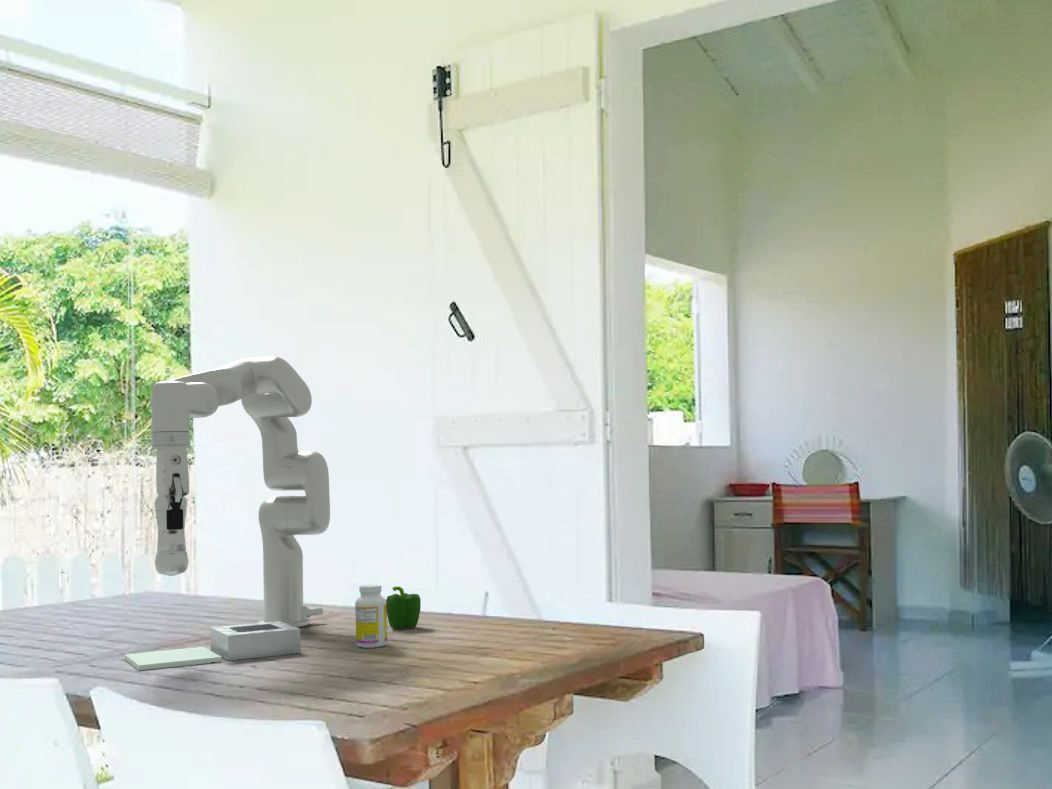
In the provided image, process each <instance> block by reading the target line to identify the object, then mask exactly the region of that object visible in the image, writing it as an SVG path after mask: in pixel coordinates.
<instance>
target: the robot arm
mask: <svg viewBox="0 0 1052 789" xmlns="http://www.w3.org/2000/svg"><path fill="white" fill-rule="evenodd" d="M312 399H313V398H312V393H311V390H310V388H309V386H308V384H307V382H305V380H303V378H302V377H301V375H300V374H299V373H298V372H297V371H296V369H294V367H293V366H292V365H291V364H290V363H289V362H288V361H286V360H285V359H283V358H281V357H280V356H261V357H259V356H258V357H257V356H256V357H247V358H246V357H245V358H241V359H238V360H235V361H232V362H230V363H227V364H225V365H222V366H220V367H217V368H213V369H209V370H205V371H201V372H198V373H197V372H196V373H193V374H188V375H184V376H180V377H177V378H172V379H169V380H166V381H165V380H163V381H157V382H155V383H153V385H152V386H151V393H150V398H149V403H150V404H149V405H150V409H151V410H150V412H151V449H154V450H156V466H155V467H156V468H155V470H156V471H155V475H156V477H155V479H156V482H155V483H156V493H157V496H158V495H159V493H160V492H161V493H162V495H164V496H167V502H168V510H166V517H167V530H181V529H183V502H182V493H183V496H185V497H186V496H189V494H190V479H189V478H190V477H189V476H190V474H189V461H188V459H189V458H188V450H187V449H190V447H191V444H190V443H191V442H190V439H191V438H190V437H191V436H190V435H191V431H190V430H191V428H190V427H191V426H190V423H191V422H190V419H196V418H197V419H200V418H207V417H209V416H212V415H213V414H215V413H216V412H217V410H218V408H219V407H221V406H227V405H232V404H233V403H236V402H238V401H239V400H241V401H240V402H241V404H242V407H243V410H244V411H245V412H246V414H247V415H248V416H249V417H251V420H253V422H254V423H255V424H256V427H258V429H259V433H260V436H261V446H262V447H261V448H262V471H263V472H262V473H263V480H264V485H265V486H266V487H267V488H268V489H270V490H272V491H278V492H279V491H283V492H284V491H285V492H286V491H288V492H289V491H292V492H293V491H304V493H305V495H282V496H281V495H279V496H272V497H269V498H267V499H265V500H264V501H263V502H262V503H260V506H259V509H258V523H259V527H260V532H261V540H262V552H263V553H262V556H263V558H262V559H263V560H262V562H263V570H262V571H263V620H259V621H257V623H264V622H275V621H281V622H283V623H286V624H289V625H291V626H294V627H297V628H300V627H306V626H309V625H310V624H311V619H310V618H311V616H315V617H316V616H323V615H324V608H323V607H322V606H321V607H320V606H319V607H309V606H307V605H306V604H305V605H304V567H303V566H304V563H303V561H304V556H303V550H302V548H301V545H300V543H299V542H298V540H297V538H295V536H305V535H306V536H307V535H308V536H311V535H312V536H313V535H314V536H315V535H321V534H324V533H325V532H326V530H328V528H329V524H330V520H331V498H330V474H329V467H328V463H327V461H326V459H325V457H324V455H322V454H321V453H320V452H317V451H312V450H311V451H310V450H309V451H308V450H307V451H299V448H298V435H297V434H298V433H297V430H296V427H295V426H294V424H293V423H292V421H291V420H290V418H299V417H302V416H305V415H306V414H307V413H308V412H309V411H310V409H311V406H312V402H313V400H312ZM172 483H173V484H172ZM169 489H170V490H169ZM170 493H174V494H170ZM171 499H172V502H171Z"/></svg>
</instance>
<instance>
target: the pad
mask: <svg viewBox="0 0 1052 789" xmlns="http://www.w3.org/2000/svg"><path fill="white" fill-rule="evenodd" d="M222 659H223V657H221V656H219V655H217V654H216V653H214V652H212V651H211V649H208V648H207V647H204V646H198V647H197V646H196V647H186V648H176V649H166V650H157V651H147V652H146V651H145V652H136V653H126V654H124V660H125V661H126V662H127V663H129V665H131V666H132V667H134V668H135V669H136V670H138V671H148V670H156V669H167V668H175V667H185V666H195V665H205V663H206V664H212V663H211V662H215V663H222Z"/></svg>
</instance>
